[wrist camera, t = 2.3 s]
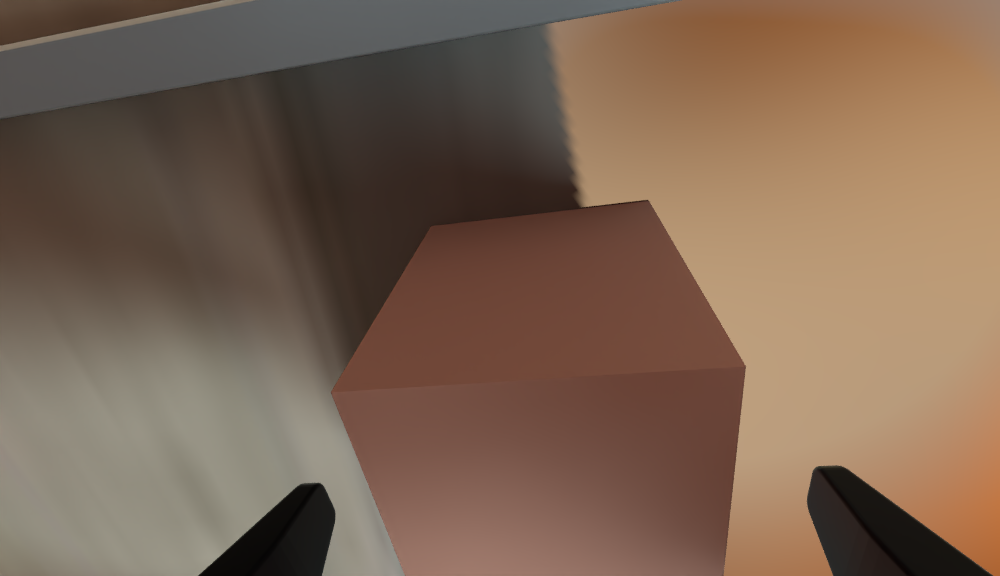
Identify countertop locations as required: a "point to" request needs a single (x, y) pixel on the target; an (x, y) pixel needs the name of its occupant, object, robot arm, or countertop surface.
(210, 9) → the price rail
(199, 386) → the countertop surface
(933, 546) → the robot arm
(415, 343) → the salmon pink block
